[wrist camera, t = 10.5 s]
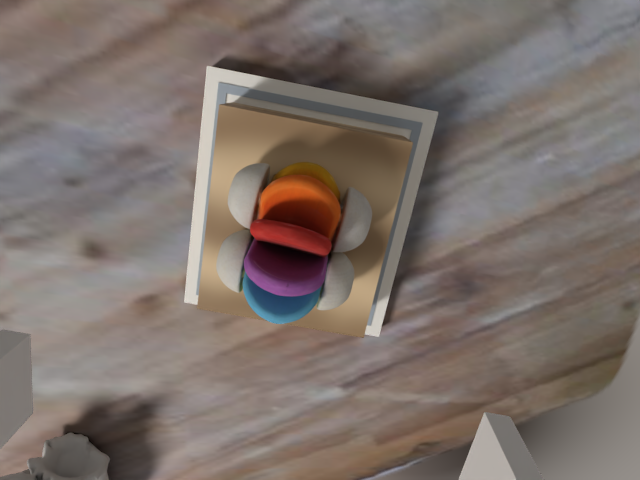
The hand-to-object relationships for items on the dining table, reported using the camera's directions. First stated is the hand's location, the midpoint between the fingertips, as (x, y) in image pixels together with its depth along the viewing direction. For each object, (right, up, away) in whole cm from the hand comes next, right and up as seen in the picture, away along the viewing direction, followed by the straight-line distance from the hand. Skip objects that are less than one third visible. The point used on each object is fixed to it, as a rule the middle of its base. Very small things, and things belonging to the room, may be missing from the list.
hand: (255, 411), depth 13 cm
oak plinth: (0, +7, +20) cm, 21 cm away
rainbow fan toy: (0, +6, +16) cm, 17 cm away
